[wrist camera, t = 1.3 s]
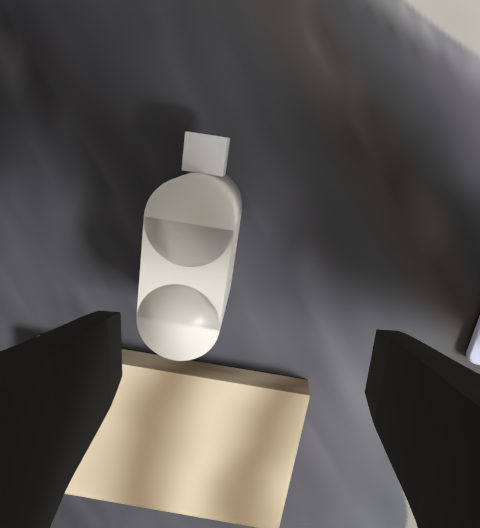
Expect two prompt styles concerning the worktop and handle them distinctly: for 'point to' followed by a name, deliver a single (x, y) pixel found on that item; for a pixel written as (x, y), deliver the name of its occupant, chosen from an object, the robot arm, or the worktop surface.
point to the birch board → (197, 441)
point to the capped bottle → (189, 252)
